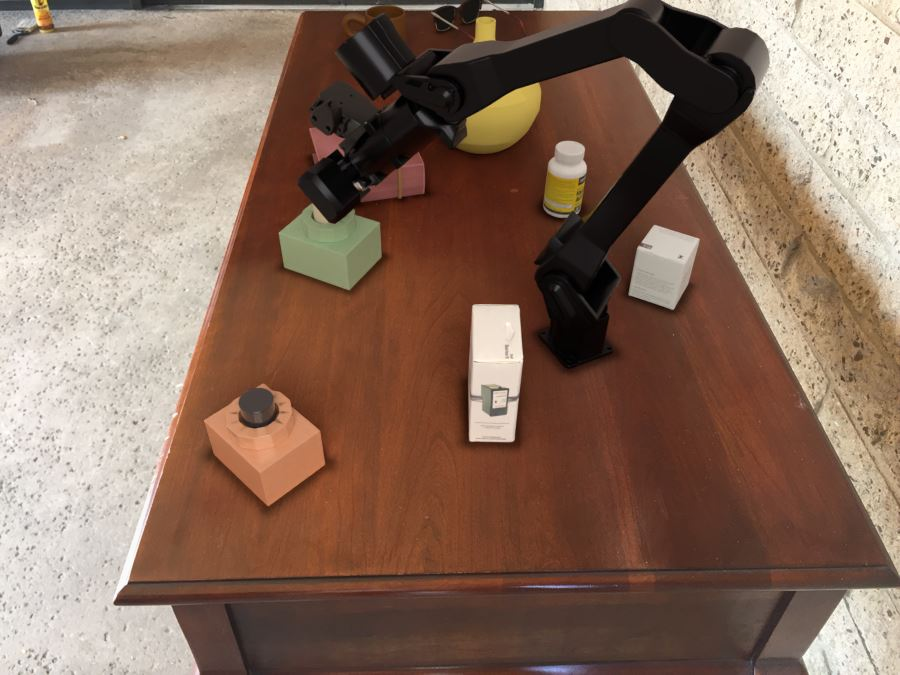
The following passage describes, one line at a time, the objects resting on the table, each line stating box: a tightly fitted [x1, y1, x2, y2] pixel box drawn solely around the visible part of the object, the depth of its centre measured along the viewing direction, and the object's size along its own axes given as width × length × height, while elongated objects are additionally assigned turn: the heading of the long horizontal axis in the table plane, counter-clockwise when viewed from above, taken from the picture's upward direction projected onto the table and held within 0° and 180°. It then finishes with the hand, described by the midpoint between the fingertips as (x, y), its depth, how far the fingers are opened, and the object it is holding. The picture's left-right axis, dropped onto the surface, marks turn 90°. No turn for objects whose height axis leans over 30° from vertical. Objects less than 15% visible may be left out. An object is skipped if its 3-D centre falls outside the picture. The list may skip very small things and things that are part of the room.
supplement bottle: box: [542, 140, 588, 219], centre depth 109 cm, size 5×5×10 cm
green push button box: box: [278, 203, 383, 291], centre depth 99 cm, size 10×8×8 cm
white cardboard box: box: [628, 224, 700, 311], centre depth 96 cm, size 6×6×7 cm
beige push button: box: [311, 202, 342, 224], centre depth 96 cm, size 4×4×2 cm
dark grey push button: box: [238, 387, 277, 428], centre depth 73 cm, size 3×3×2 cm
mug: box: [340, 4, 408, 45], centre depth 145 cm, size 12×8×9 cm, turn 92°
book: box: [308, 127, 426, 203], centre depth 116 cm, size 14×15×5 cm
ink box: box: [467, 303, 524, 443], centre depth 79 cm, size 9×5×12 cm, turn 0°
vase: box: [455, 16, 542, 155], centre depth 120 cm, size 18×18×19 cm
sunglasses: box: [431, 0, 528, 42], centre depth 156 cm, size 14×16×5 cm
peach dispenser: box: [203, 383, 326, 507], centre depth 75 cm, size 9×7×7 cm
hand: (326, 192), depth 95 cm, fingers closed
